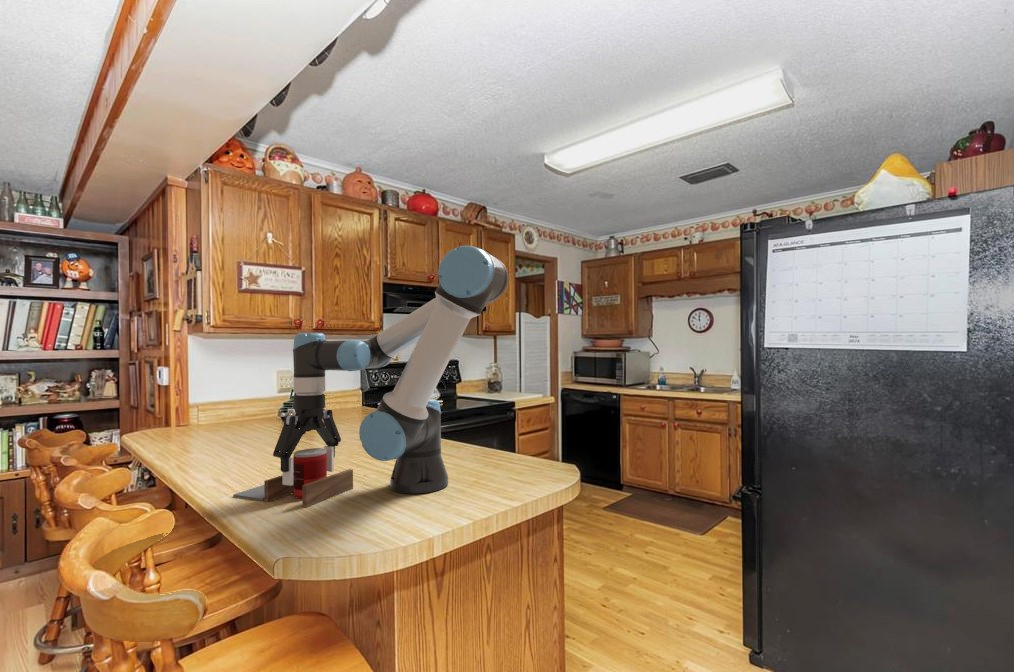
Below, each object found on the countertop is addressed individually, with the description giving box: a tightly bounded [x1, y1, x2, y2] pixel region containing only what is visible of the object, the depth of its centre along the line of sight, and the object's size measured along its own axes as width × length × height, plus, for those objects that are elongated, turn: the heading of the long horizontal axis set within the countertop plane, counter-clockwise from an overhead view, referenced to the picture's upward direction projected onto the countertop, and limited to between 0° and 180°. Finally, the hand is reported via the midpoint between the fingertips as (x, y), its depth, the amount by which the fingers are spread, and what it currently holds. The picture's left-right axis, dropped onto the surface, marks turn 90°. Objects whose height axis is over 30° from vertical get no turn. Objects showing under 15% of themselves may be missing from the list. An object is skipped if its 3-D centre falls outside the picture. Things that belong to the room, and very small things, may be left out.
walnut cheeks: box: [263, 468, 354, 508], centre depth 124 cm, size 13×16×5 cm
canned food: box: [292, 447, 328, 500], centre depth 124 cm, size 8×8×11 cm
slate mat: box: [232, 484, 265, 502], centre depth 126 cm, size 10×10×1 cm
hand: (309, 477), depth 124 cm, fingers open, 13 cm apart
